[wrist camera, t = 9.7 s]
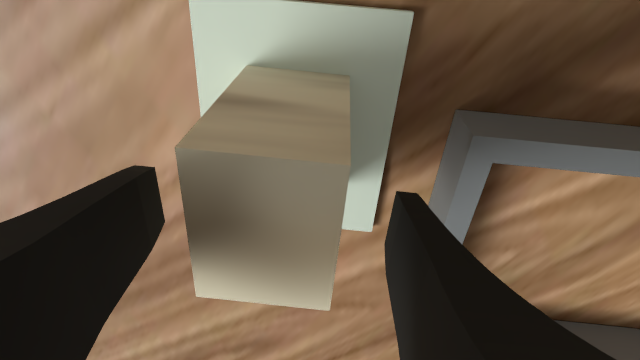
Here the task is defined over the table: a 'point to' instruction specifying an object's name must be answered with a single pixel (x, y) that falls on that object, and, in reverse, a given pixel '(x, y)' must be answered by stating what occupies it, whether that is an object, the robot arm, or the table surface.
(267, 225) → the birch block
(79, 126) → the table surface
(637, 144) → the gray rectangular frame
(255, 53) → the mat
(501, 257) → the table surface
